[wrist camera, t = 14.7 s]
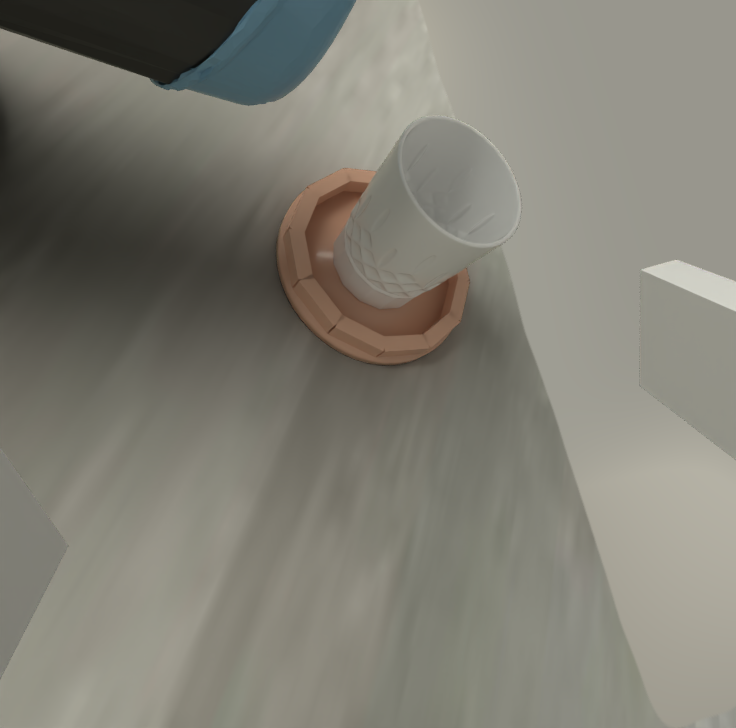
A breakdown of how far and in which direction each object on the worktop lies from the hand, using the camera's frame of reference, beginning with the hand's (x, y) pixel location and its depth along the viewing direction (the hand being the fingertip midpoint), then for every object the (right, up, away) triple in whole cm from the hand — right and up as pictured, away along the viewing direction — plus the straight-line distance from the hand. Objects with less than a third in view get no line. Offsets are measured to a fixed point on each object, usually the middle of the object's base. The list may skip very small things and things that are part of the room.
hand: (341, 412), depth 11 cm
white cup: (+1, +8, +25) cm, 26 cm away
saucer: (+1, +8, +26) cm, 27 cm away
